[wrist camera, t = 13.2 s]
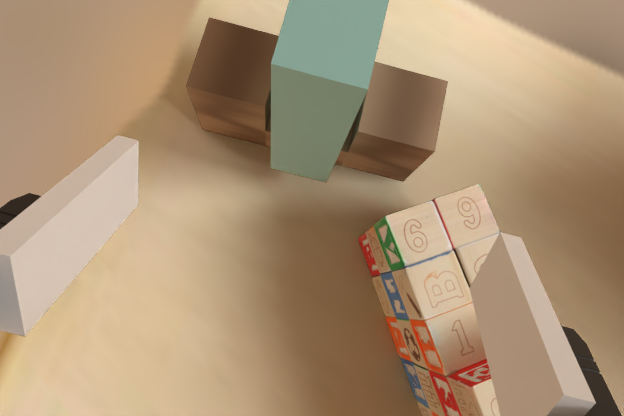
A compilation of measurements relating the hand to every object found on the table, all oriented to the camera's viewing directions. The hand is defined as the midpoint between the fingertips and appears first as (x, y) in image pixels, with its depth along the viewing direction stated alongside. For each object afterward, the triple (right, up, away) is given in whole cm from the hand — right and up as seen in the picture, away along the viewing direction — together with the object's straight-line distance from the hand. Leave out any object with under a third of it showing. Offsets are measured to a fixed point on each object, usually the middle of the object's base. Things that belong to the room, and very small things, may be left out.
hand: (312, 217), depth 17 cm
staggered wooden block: (0, +7, +19) cm, 21 cm away
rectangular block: (0, +7, +17) cm, 18 cm away
